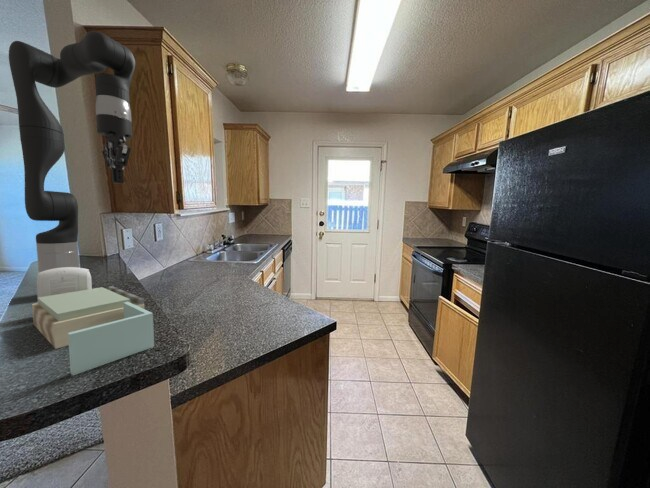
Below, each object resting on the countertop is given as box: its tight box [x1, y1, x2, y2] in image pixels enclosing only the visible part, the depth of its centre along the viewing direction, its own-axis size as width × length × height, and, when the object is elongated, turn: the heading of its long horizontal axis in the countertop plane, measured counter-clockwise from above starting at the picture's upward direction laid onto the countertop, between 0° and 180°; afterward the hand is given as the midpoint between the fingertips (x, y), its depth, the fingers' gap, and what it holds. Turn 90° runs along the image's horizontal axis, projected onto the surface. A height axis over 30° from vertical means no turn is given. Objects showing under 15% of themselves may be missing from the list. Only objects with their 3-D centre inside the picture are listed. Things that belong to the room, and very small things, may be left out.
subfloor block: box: [31, 285, 146, 350], centre depth 62 cm, size 20×15×6 cm
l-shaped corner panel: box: [68, 302, 155, 376], centre depth 50 cm, size 12×12×8 cm
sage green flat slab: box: [36, 286, 130, 321], centre depth 61 cm, size 18×12×2 cm, turn 56°
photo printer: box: [36, 267, 93, 298], centre depth 68 cm, size 10×4×12 cm, turn 123°
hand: (117, 183), depth 72 cm, fingers closed
